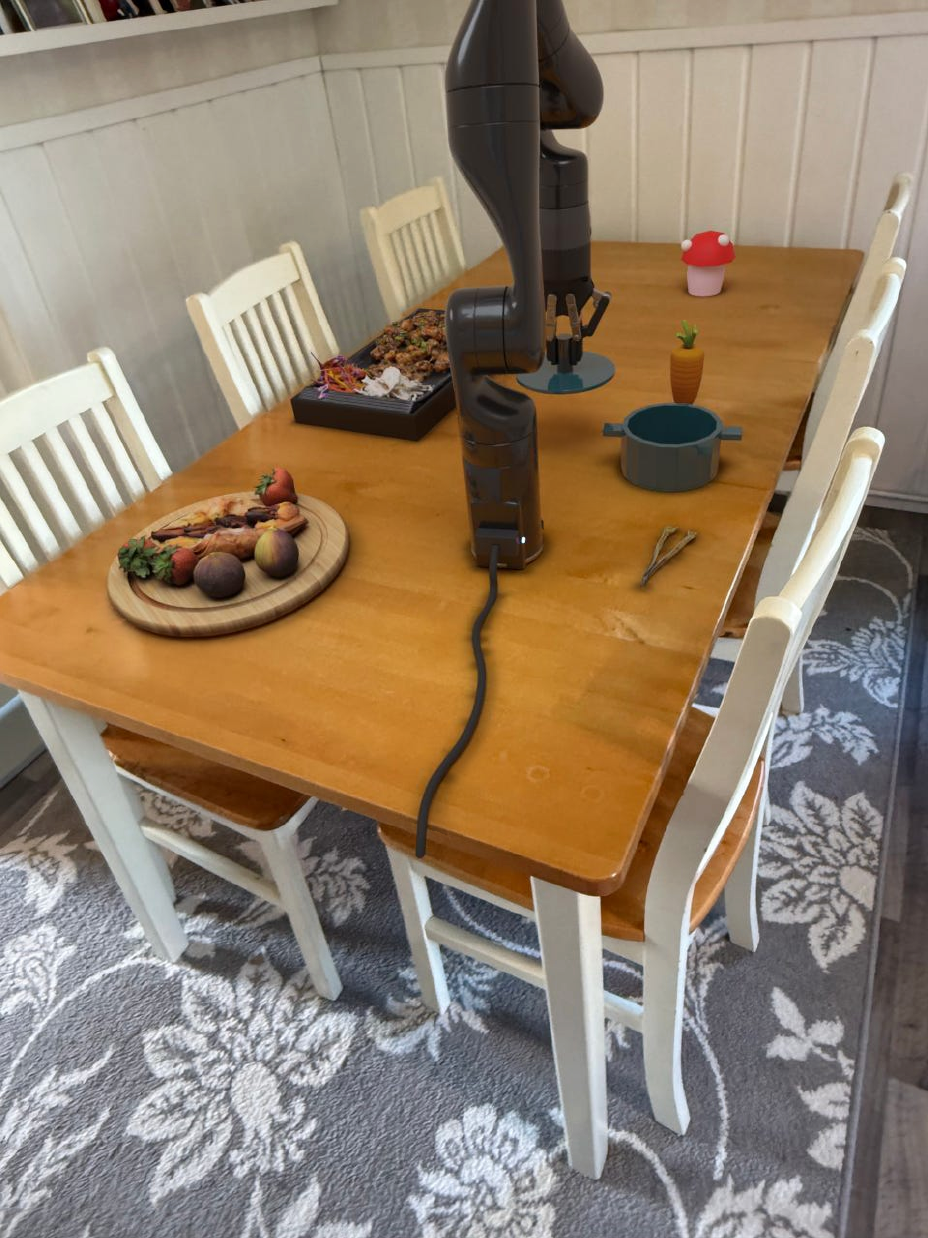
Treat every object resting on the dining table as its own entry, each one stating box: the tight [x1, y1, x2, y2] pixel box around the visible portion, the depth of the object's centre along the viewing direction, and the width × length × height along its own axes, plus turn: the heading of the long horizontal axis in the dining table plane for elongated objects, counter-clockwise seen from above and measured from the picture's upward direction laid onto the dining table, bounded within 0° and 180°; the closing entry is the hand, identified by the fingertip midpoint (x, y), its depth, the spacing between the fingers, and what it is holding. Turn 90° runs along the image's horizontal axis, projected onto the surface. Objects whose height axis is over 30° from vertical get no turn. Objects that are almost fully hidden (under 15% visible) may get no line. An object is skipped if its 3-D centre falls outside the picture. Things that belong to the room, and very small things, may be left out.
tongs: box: [640, 525, 698, 589], centre depth 105 cm, size 4×13×2 cm, turn 151°
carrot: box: [669, 319, 705, 405], centre depth 131 cm, size 5×5×15 cm
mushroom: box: [680, 230, 736, 297], centre depth 176 cm, size 11×11×12 cm
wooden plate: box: [106, 467, 350, 638], centre depth 112 cm, size 32×32×8 cm
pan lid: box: [515, 333, 616, 396], centre depth 124 cm, size 15×15×6 cm
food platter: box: [289, 307, 491, 442], centre depth 155 cm, size 45×25×10 cm, turn 153°
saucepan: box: [602, 402, 743, 493], centre depth 121 cm, size 14×19×7 cm
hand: (565, 362), depth 125 cm, fingers closed on pan lid, 2 cm apart
